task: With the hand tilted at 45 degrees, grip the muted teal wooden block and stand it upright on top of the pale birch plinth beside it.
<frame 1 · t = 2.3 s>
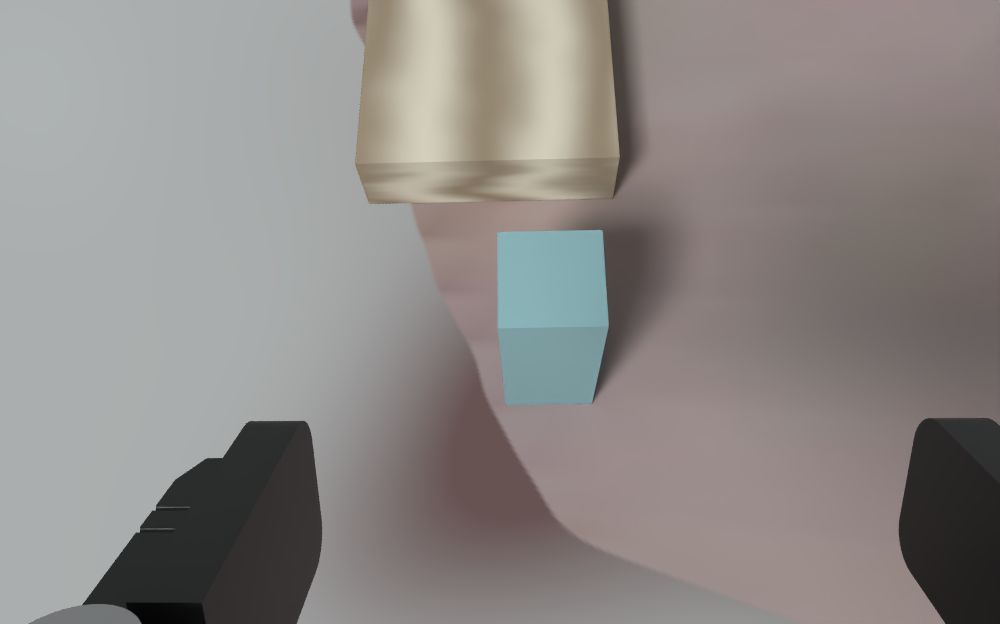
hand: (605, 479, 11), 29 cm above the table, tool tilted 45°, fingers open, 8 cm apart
birch plinth: (490, 77, 50), on the table
teal block: (547, 363, 42), on the table
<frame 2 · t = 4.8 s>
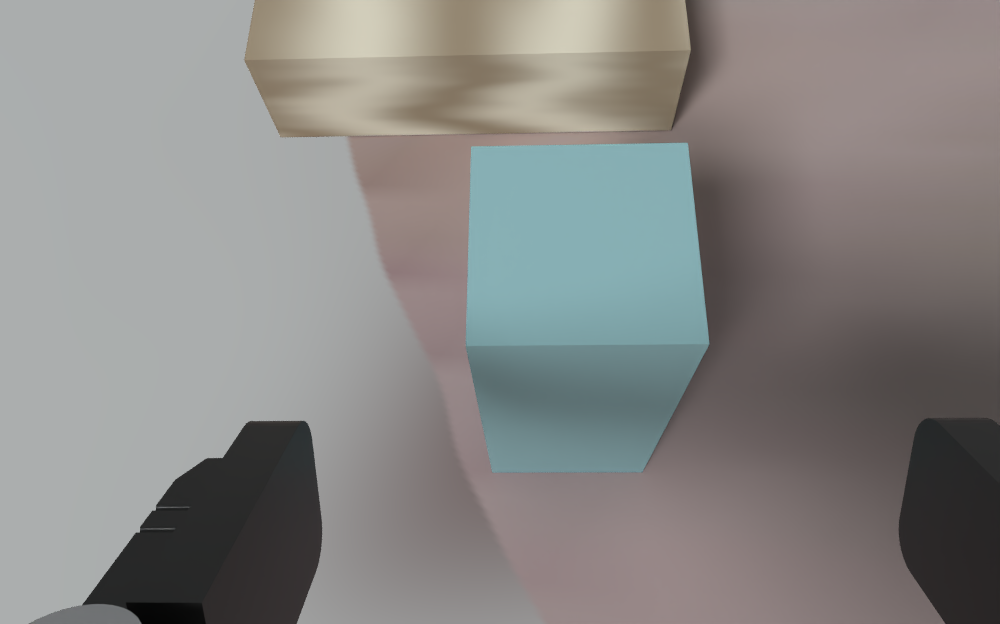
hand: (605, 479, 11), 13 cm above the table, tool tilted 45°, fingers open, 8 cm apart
teal block: (565, 400, 25), on the table
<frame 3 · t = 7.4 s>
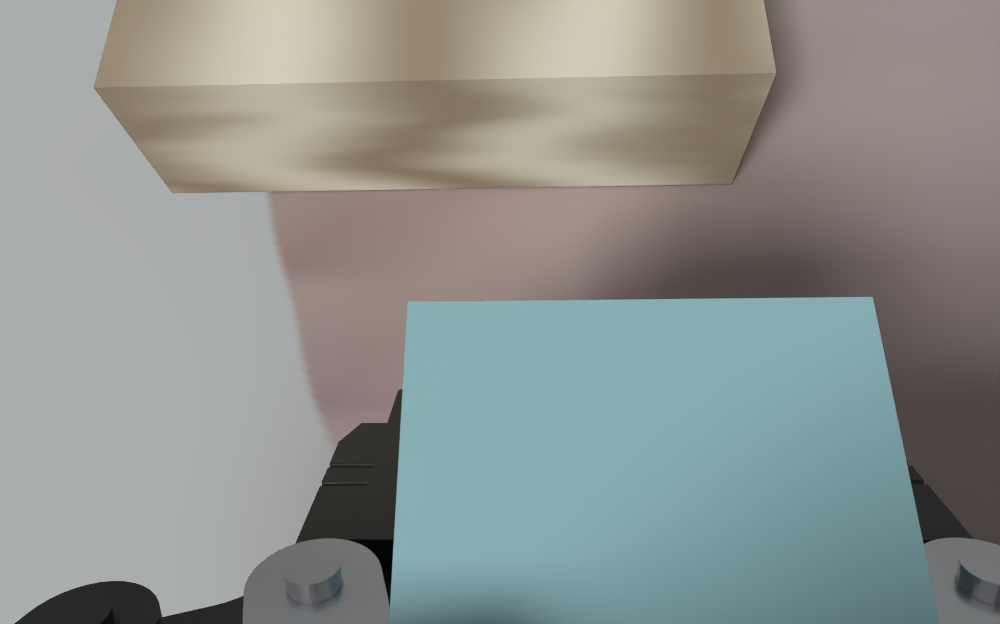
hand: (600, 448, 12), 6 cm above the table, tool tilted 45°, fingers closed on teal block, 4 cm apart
teal block: (584, 617, 16), on the table, touching gripper
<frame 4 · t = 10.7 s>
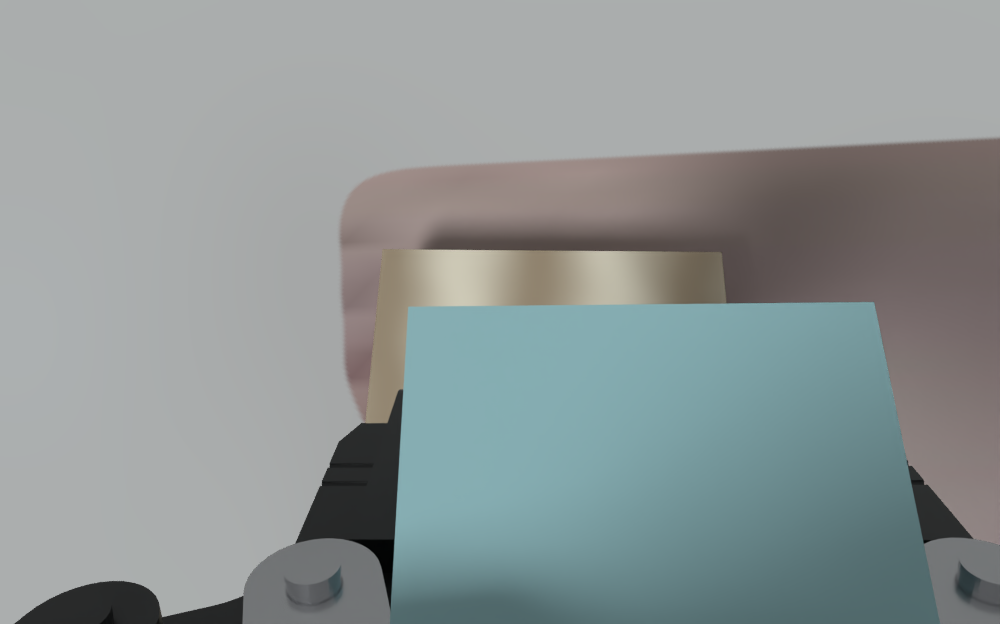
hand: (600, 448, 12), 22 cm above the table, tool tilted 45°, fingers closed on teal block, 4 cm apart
birch plinth: (547, 488, 33), on the table
teal block: (584, 619, 16), point 16 cm above the table, touching gripper
when the fingers open (11 cm above the table, at t = 14.2 s): teal block drops 1 cm, resting on birch plinth.
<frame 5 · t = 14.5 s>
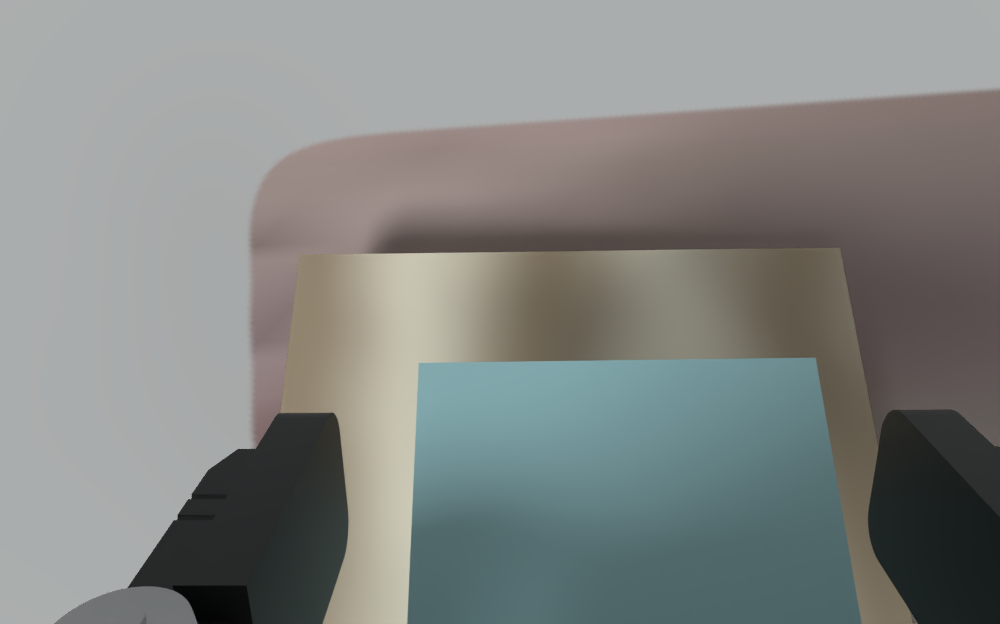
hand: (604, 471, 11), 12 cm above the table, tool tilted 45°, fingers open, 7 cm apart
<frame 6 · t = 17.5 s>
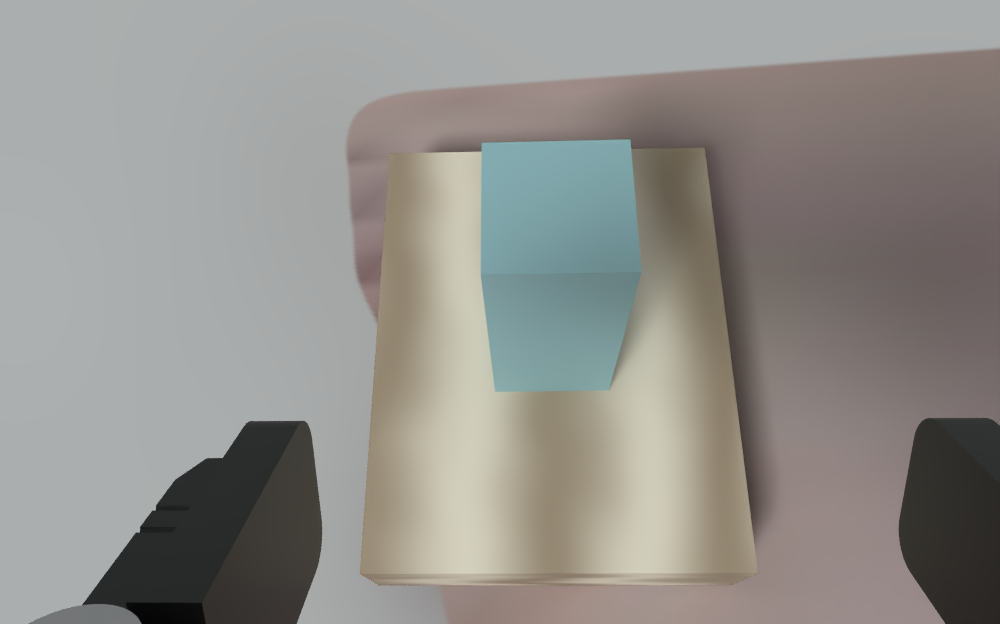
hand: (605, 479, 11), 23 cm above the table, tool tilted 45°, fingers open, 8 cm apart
birch plinth: (548, 372, 36), on the table
teal block: (550, 338, 32), point 4 cm above the table, touching birch plinth
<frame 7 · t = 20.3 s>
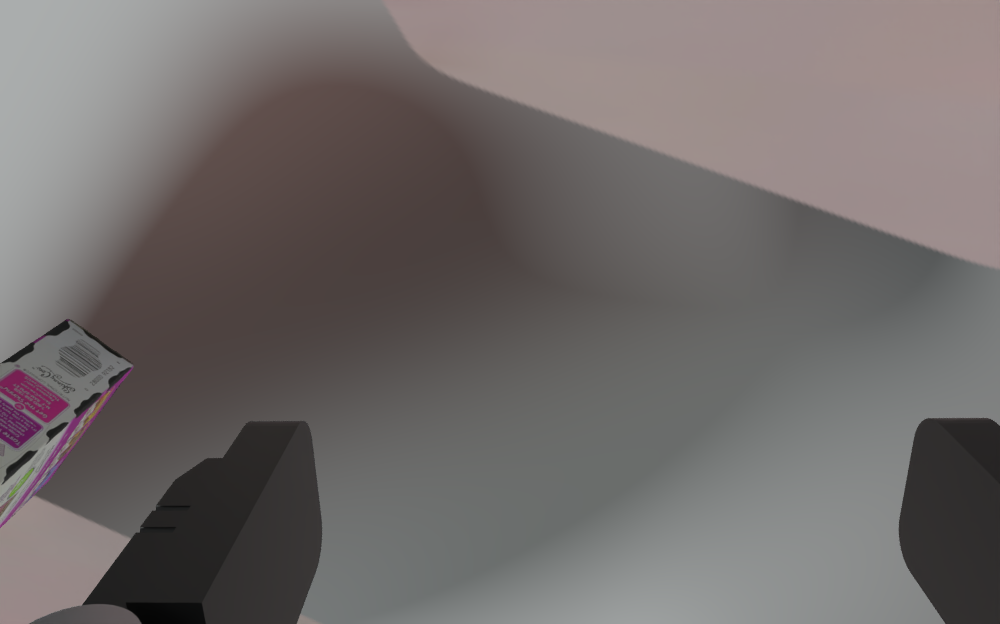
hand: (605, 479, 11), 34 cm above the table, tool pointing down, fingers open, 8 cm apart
candy bar box: (58, 400, 50), on the table
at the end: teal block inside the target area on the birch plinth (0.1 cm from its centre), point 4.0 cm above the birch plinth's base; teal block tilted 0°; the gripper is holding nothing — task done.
